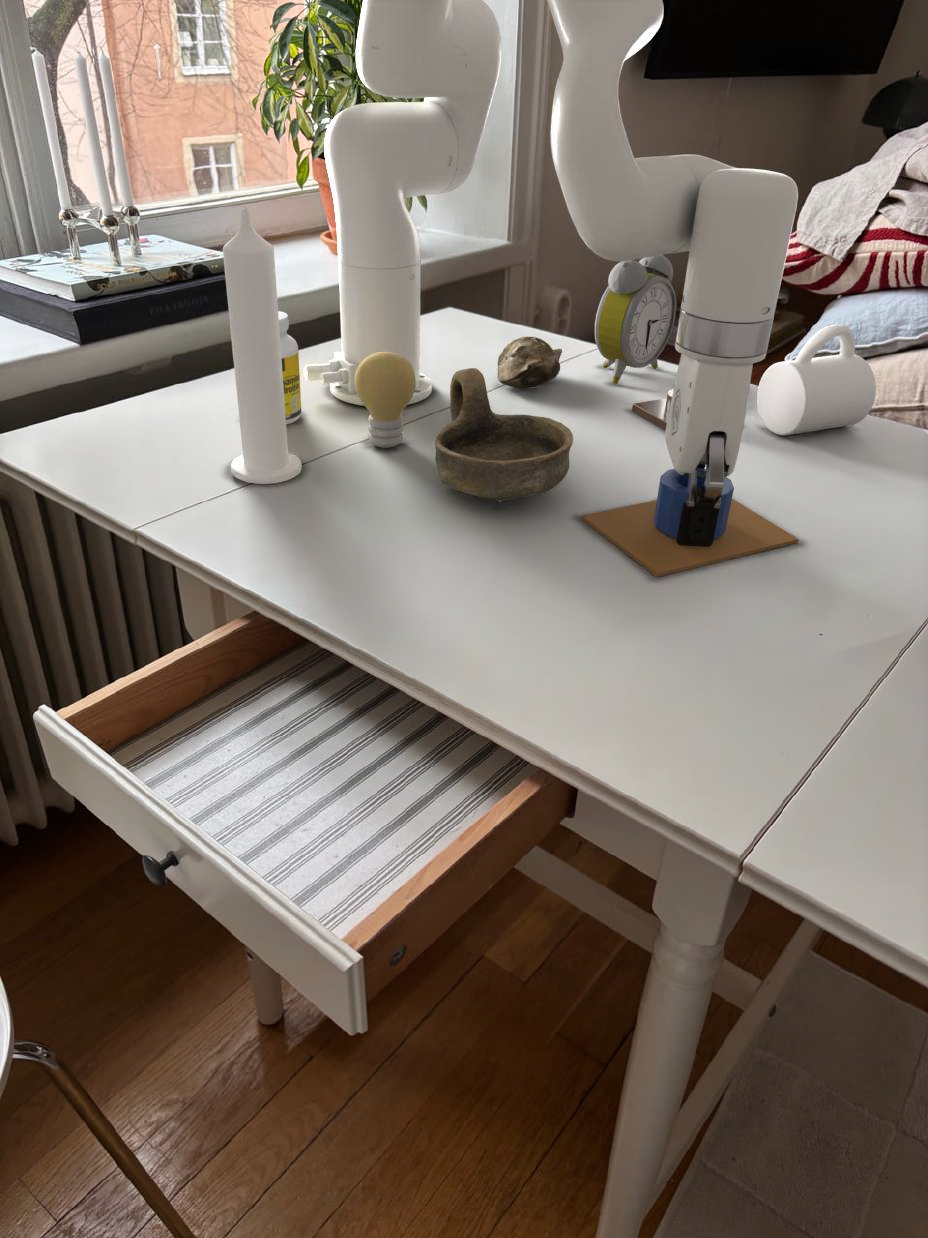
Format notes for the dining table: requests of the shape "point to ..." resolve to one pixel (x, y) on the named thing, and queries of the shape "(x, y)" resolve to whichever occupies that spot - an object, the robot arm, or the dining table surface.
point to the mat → (665, 556)
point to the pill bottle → (289, 371)
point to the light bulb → (385, 395)
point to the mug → (817, 387)
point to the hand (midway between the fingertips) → (688, 524)
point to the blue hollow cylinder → (676, 493)
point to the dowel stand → (655, 410)
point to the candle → (257, 358)
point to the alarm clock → (636, 314)
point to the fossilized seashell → (528, 363)
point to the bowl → (498, 446)
